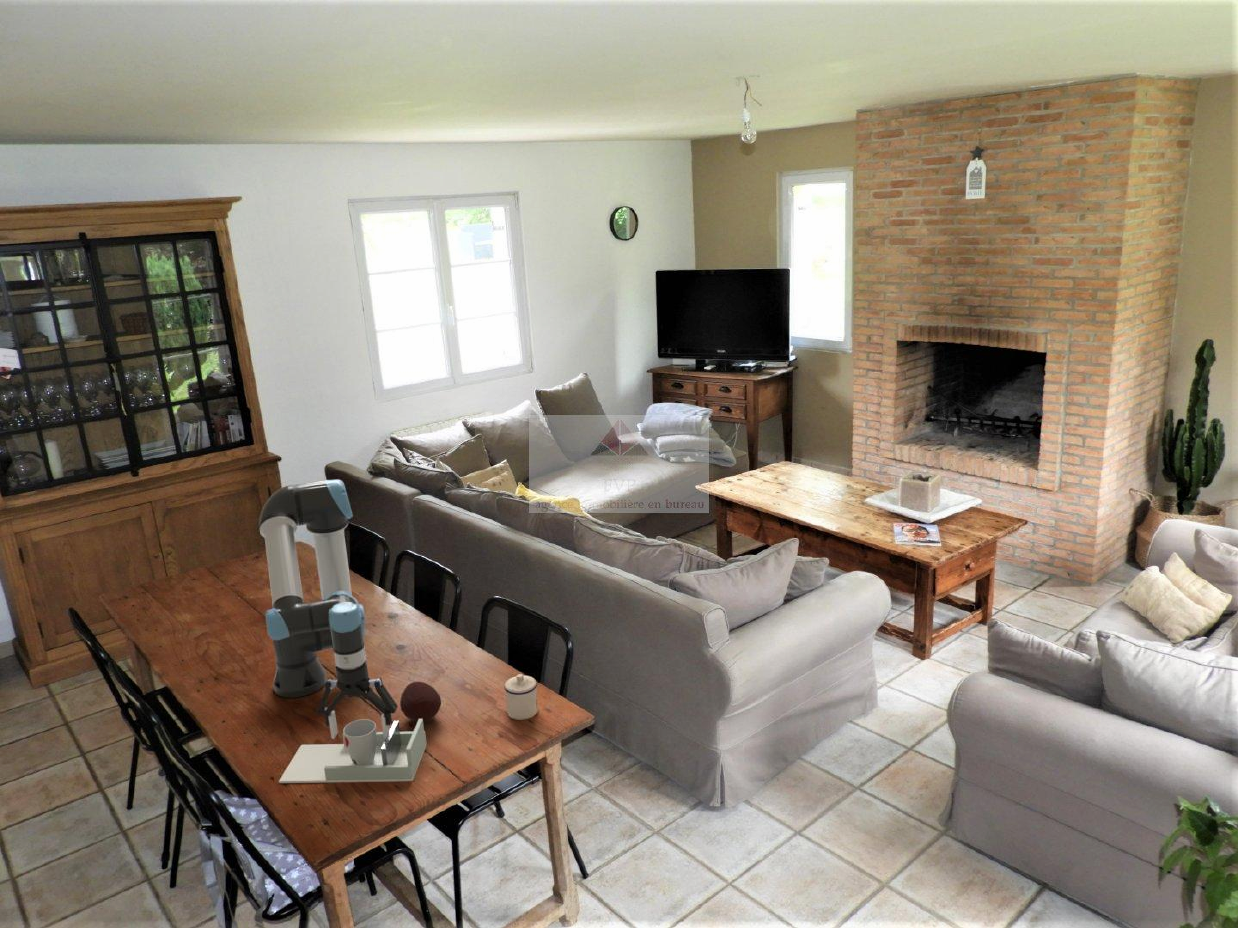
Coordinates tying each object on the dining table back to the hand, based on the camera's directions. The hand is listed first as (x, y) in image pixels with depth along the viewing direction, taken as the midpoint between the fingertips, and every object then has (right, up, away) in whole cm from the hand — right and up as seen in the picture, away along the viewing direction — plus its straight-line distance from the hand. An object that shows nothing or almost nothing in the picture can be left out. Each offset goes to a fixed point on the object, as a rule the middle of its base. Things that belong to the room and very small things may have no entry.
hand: (360, 735), depth 232 cm
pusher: (+8, -7, +1) cm, 11 cm away
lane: (-2, -8, +2) cm, 8 cm away
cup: (0, -7, +2) cm, 8 cm away
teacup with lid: (+39, 0, +24) cm, 45 cm away
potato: (+11, -2, +21) cm, 24 cm away
